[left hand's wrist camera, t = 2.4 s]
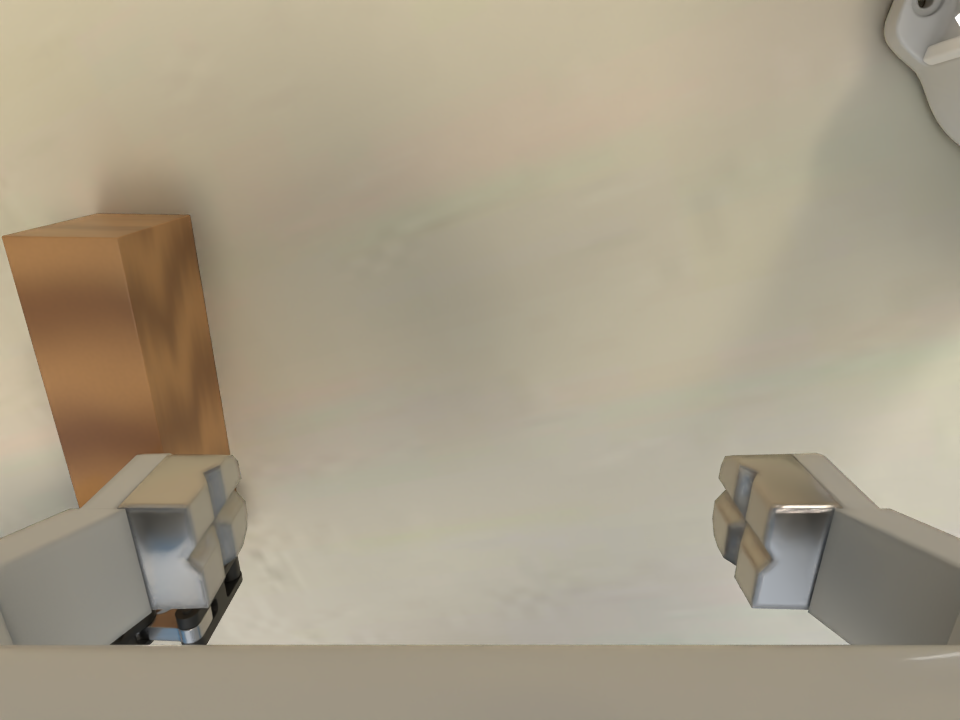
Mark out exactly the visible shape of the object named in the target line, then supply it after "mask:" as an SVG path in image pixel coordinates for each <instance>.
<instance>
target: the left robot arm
mask: <svg viewBox="0 0 960 720" xmlns="http://www.w3.org/2000/svg"><path fill="white" fill-rule="evenodd" d="M884 38H885V41H886V43H887V45H888V46H889V48H890V49H891V50H892V51H893V52H894V53H895V54H896V56H897V57H898V58H900V59H901V60H902V61H903V62H904V63H905V64H906V65H907V66H909V67H910V68H911V69H912V70H913V71H915V73H916V74H917V76H918V78H919V80H920V82H921V84H922V87H923V90H924V93H925V96H926V99H927V101H928V104H929V107H930V109H931V111H932V113H933V115H934V117H935V119H936V121H937V122H938V124H939V125H940V127H941V128H942V129H943V131H944V132H945V133H946V134H947V135H948V136H949V137H950V138H951V139H952V140H953V141H954V142H955V143H956V144H958V145H959V146H960V0H926V1H925V4H924V6H923V7H922V8H921V7H920V6H919V5H918V0H893V3H892V5H891V8H890V10H889V13H888V15H887V18H886V21H885V24H884ZM240 480H241V474H240V469H239V464H238V461H237V460H236V459H235V457H234V456H233V455H208V454H170V453H160V454H141V455H136V456H135V457H134V458H133V459H132V460H131V461H130V462H129V463H128V464H127V465H126V466H124V467H123V468H122V469H121V470H120V471H119V472H118V473H117V474H116V475H115V476H114V477H113V478H112V479H111V480H110V481H109V482H108V483H107V484H106V485H104V486H103V487H102V488H101V489H100V490H99V491H98V492H97V493H96V494H95V495H94V496H93V497H92V498H91V499H90V500H89V501H88V502H87V503H86V504H84V505H83V506H82V507H81V508H80V509H68V510H66V511H63V512H61V513H59V514H56V515H54V516H52V517H49V518H47V519H45V520H42V521H40V522H37V523H35V524H33V525H30V526H28V527H26V528H23V529H21V530H19V531H16V532H14V533H12V534H9V535H7V536H5V537H2V538H0V720H960V538H958V537H955V536H953V535H951V534H948V533H946V532H944V531H941V530H939V529H936V528H934V527H932V526H929V525H927V524H925V523H922V522H920V521H918V520H915V519H913V518H911V517H908V516H906V515H904V514H901V513H899V512H897V511H894V510H892V509H880V508H879V507H878V506H877V505H876V504H875V503H873V502H872V501H871V500H870V499H869V498H868V497H867V496H866V495H865V494H864V493H863V492H862V491H861V490H860V489H859V488H858V487H857V486H856V485H855V484H854V483H852V482H851V481H850V480H849V479H848V478H847V477H846V476H845V475H844V474H843V473H842V472H841V471H840V470H839V469H838V468H837V467H836V466H835V465H834V464H833V463H831V462H830V461H829V460H828V459H827V458H826V457H825V456H823V455H820V454H817V453H807V454H771V455H732V456H725V458H724V460H723V462H722V464H721V468H720V473H719V480H720V481H721V483H722V484H723V486H724V487H725V489H726V490H725V491H724V492H723V493H722V494H721V495H720V496H719V497H718V498H717V499H716V500H715V503H714V510H713V518H712V519H713V530H714V537H715V540H716V543H717V546H718V548H719V550H720V552H721V554H722V556H723V558H725V559H726V560H728V561H730V562H731V563H733V564H734V565H736V571H735V576H734V577H735V579H736V581H737V583H738V584H739V586H740V588H741V590H742V591H743V593H744V595H745V597H746V598H747V600H748V602H749V604H750V605H751V607H752V608H768V609H804V610H808V612H809V613H810V614H811V615H813V616H814V617H815V618H816V619H818V620H819V621H820V622H822V623H823V624H824V625H826V626H827V627H828V628H829V629H831V630H832V631H833V632H835V633H836V634H837V635H839V636H840V637H841V638H843V639H844V640H845V641H846V642H848V643H849V644H850V645H110V644H111V643H112V642H114V641H115V640H116V639H118V638H119V637H120V636H122V635H123V634H124V633H125V632H127V631H128V630H129V629H131V628H132V627H133V626H135V625H136V624H137V623H139V622H140V621H141V620H142V619H144V618H145V617H146V616H148V615H149V614H150V613H151V612H152V611H151V610H156V609H191V608H208V607H209V605H210V604H211V602H212V600H213V598H214V597H215V595H216V593H217V591H218V590H219V588H220V586H221V584H222V583H223V581H224V579H225V577H226V576H225V571H224V565H226V564H227V563H229V562H230V561H232V560H234V559H235V558H237V556H238V554H239V552H240V550H241V548H242V546H243V544H244V539H245V535H246V531H247V509H246V502H245V500H244V499H243V498H242V497H241V496H240V495H239V494H238V493H237V492H236V491H235V490H234V489H235V487H236V486H237V484H238V483H239V481H240Z"/></svg>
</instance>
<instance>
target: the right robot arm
mask: <svg viewBox="0 0 960 720" xmlns="http://www.w3.org/2000/svg"><path fill="white" fill-rule="evenodd" d="M224 571H225V576H226V577H225V579H224V581H223V583H222V584H221V586H220V588H219V590H218V591H217V593H216V595H215V597H214V598H213V600H212V602H211V604H210V605H209V607H208V608H191V609H156V610H151V611H152V612H151V613H150V614H149V615H148V616H146V617H145V618H144V619H142V620H141V621H140V622H139V623H137V624H136V625H135V626H133V627H132V628H131V629H129V630H128V631H127V632H125V633H124V634H123V635H122V636H120V637H119V638H118V639H116V640H115V641H114V642H112V643H111V644H110V645H150V644H151V643H152V642H153V641H154V640H162V641H181V642H182V645H207V643H208V641H209V639H210V637H211V636H212V634H213V632H214V630H215V629H216V627H217V625H218V623H219V621H220V620H221V618H222V616H223V614H224V613H225V611H226V609H227V607H228V605H229V604H230V602H231V600H232V598H233V597H234V595H235V593H236V591H237V589H238V588H239V586H240V584H241V582H242V580H243V579H242V573H241V571H240V566H239V561H238V556H237V558H235V559H234V560H232V561H230V562H229V563H227V564H226V565H224Z"/></svg>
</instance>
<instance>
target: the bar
mask: <svg viewBox="0 0 960 720" xmlns="http://www.w3.org/2000/svg"><path fill="white" fill-rule="evenodd" d="M2 239H3V243H4V246H5V250H6V253H7V257H8V260H9V264H10V267H11V271H12V274H13V278H14V281H15V285H16V288H17V292H18V295H19V299H20V302H21V306H22V309H23V313H24V316H25V320H26V323H27V327H28V330H29V334H30V337H31V341H32V344H33V348H34V351H35V355H36V358H37V362H38V365H39V369H40V372H41V376H42V379H43V383H44V386H45V390H46V393H47V397H48V400H49V404H50V407H51V411H52V414H53V418H54V421H55V425H56V428H57V432H58V435H59V438H60V442H61V445H62V449H63V452H64V456H65V459H66V463H67V466H68V470H69V473H70V477H71V480H72V484H73V487H74V491H75V494H76V498H77V501H78V505H79V508H81V507H82V506H83V505H84V504H86V503H87V502H88V501H89V500H90V499H91V498H92V497H93V496H94V495H95V494H96V493H97V492H98V491H99V490H100V489H101V488H102V487H103V486H104V485H106V484H107V483H108V482H109V481H110V480H111V479H112V478H113V477H114V476H115V475H116V474H117V473H118V472H119V471H120V470H121V469H122V468H123V467H124V466H126V465H127V464H128V463H129V462H130V461H131V460H132V459H133V458H134V457H135V456H136V455H141V454H160V453H170V454H208V455H230V451H229V445H228V439H227V433H226V427H225V422H224V416H223V410H222V404H221V398H220V392H219V386H218V380H217V374H216V368H215V362H214V356H213V350H212V344H211V338H210V332H209V326H208V320H207V314H206V308H205V302H204V296H203V290H202V284H201V278H200V272H199V266H198V260H197V254H196V248H195V242H194V236H193V230H192V225H191V219H190V215H167V214H93V215H89V216H85V217H80V218H76V219H72V220H68V221H63V222H59V223H55V224H51V225H47V226H42V227H38V228H34V229H30V230H25V231H21V232H17V233H13V234H9V235H4V236H2ZM234 490H235V491H236V487H235V489H234Z"/></svg>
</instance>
